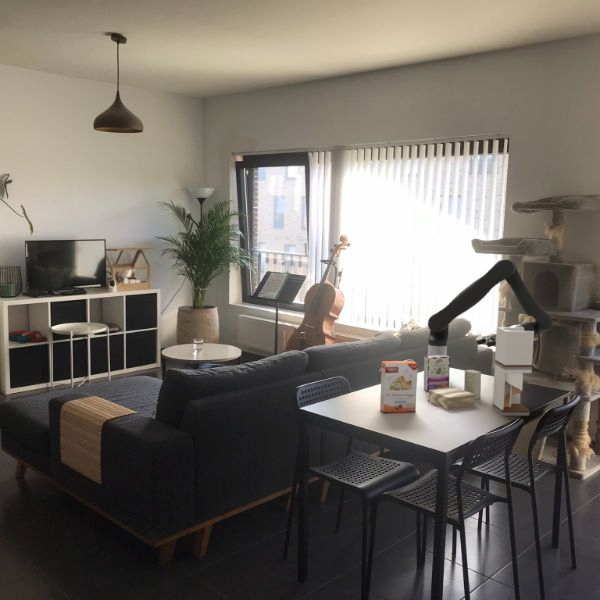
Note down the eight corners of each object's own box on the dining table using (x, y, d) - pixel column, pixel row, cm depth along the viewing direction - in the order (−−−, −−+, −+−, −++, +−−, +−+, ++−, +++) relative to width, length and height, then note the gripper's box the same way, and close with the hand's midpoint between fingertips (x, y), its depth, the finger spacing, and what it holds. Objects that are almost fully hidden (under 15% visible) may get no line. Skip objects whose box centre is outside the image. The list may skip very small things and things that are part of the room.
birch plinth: (428, 401, 282) (428, 390, 281) (453, 397, 288) (454, 386, 287) (448, 409, 269) (449, 397, 269) (474, 405, 275) (475, 394, 275)
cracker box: (383, 413, 262) (385, 363, 260) (379, 409, 268) (381, 360, 266) (416, 412, 265) (418, 363, 262) (411, 408, 270) (413, 360, 268)
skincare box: (480, 398, 287) (481, 371, 286) (474, 399, 285) (475, 373, 283) (469, 395, 292) (470, 369, 291) (463, 396, 290) (464, 370, 288)
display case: (502, 415, 262) (506, 331, 257) (492, 408, 272) (496, 327, 268) (529, 415, 262) (533, 331, 258) (518, 407, 273) (523, 327, 269)
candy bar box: (444, 388, 305) (445, 354, 303) (449, 390, 300) (450, 356, 298) (422, 389, 302) (423, 355, 300) (427, 392, 297) (428, 357, 295)
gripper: (502, 325, 302) (472, 334, 298) (520, 327, 288) (489, 337, 284) (505, 340, 302) (475, 350, 298) (523, 343, 289) (492, 353, 285)
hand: (482, 344), depth 291 cm, fingers open, 8 cm apart
